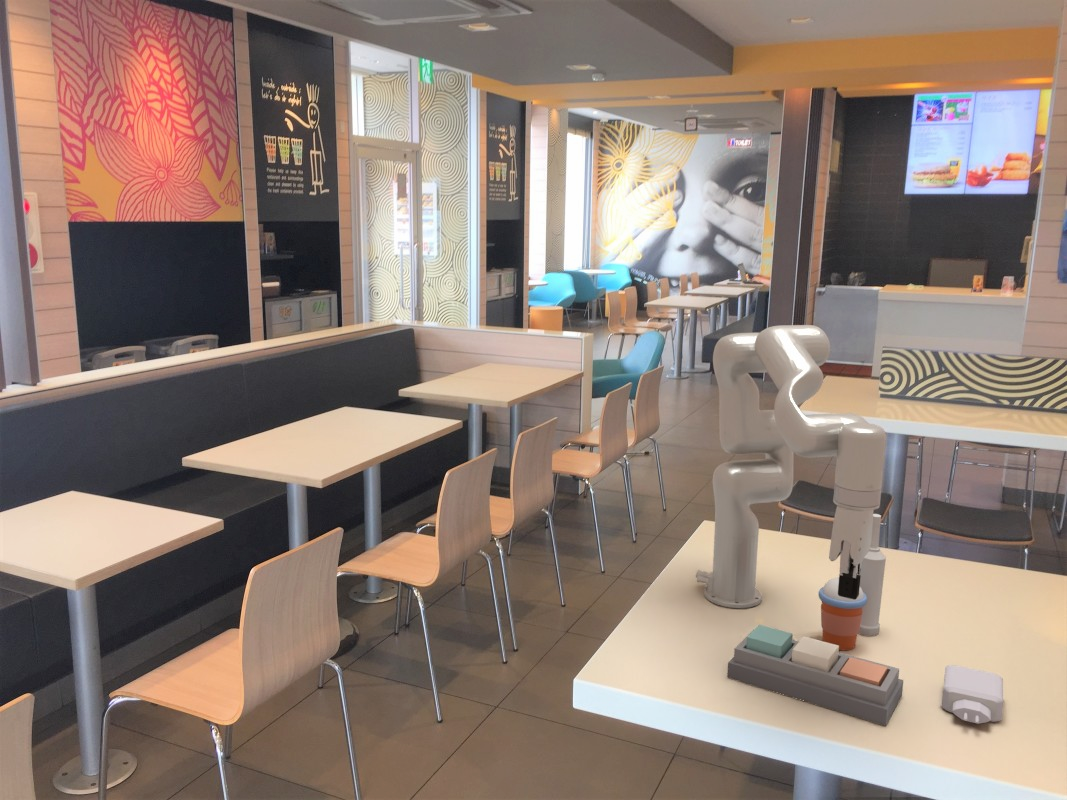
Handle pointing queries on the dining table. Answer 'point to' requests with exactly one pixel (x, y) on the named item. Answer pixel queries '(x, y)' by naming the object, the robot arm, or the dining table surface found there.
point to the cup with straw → (840, 615)
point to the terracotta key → (864, 671)
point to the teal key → (769, 641)
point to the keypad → (818, 683)
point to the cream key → (815, 654)
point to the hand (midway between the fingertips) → (848, 596)
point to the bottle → (872, 582)
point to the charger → (973, 694)
